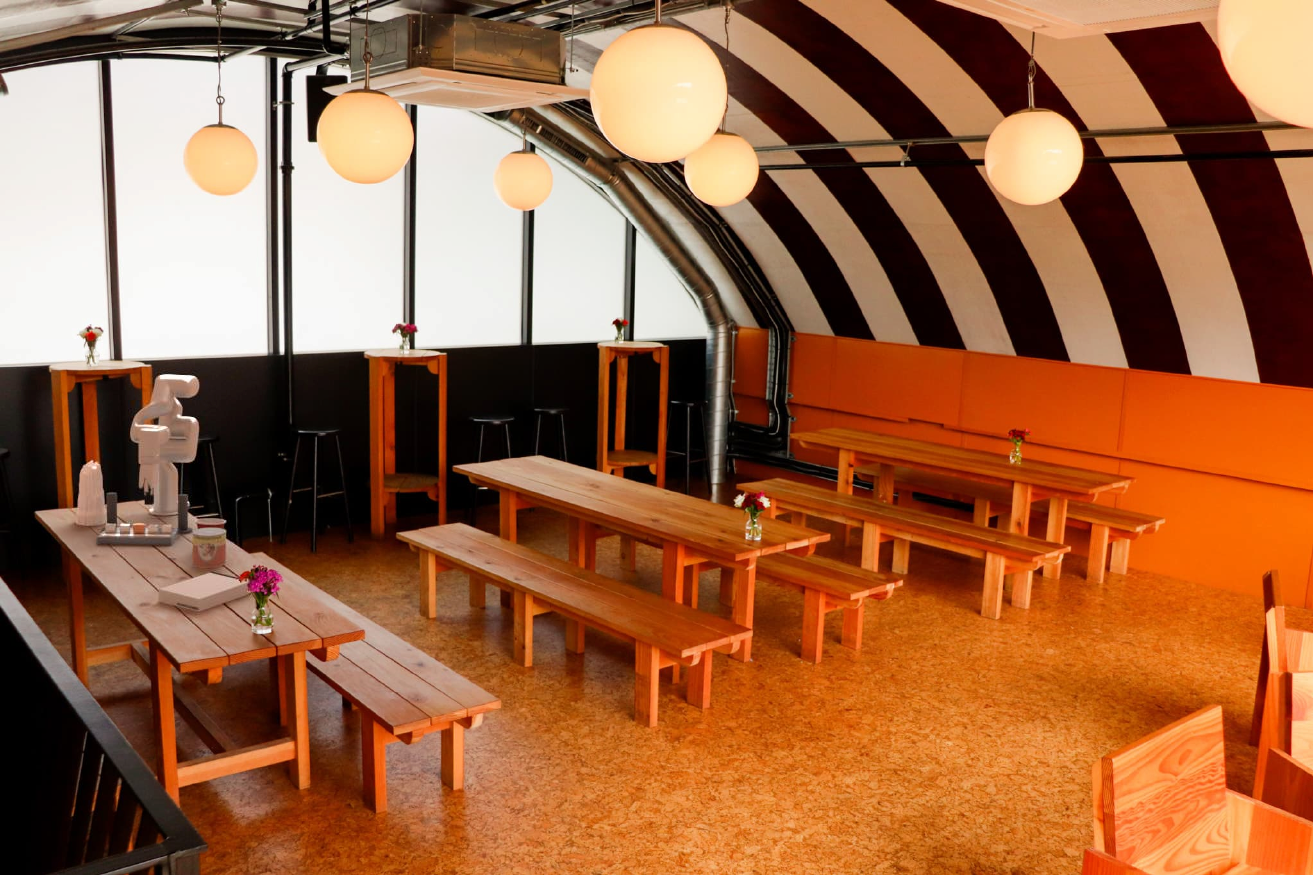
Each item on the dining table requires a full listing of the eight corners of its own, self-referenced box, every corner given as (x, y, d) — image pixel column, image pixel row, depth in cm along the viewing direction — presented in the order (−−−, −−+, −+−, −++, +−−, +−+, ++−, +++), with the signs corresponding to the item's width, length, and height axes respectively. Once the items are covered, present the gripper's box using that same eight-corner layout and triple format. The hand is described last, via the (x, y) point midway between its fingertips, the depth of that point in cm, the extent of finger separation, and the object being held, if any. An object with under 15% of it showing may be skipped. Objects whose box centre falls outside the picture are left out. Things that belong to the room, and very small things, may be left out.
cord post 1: (118, 527, 416) (117, 490, 413) (124, 531, 411) (124, 494, 409) (99, 529, 411) (98, 492, 408) (105, 533, 406) (105, 496, 403)
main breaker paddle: (134, 530, 401) (134, 523, 401) (145, 531, 402) (145, 523, 402) (132, 532, 399) (132, 524, 399) (144, 532, 400) (144, 524, 400)
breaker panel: (107, 534, 405) (107, 519, 404) (179, 535, 411) (179, 520, 410) (97, 544, 392) (96, 529, 391) (171, 545, 398) (171, 530, 397)
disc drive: (251, 594, 352) (251, 580, 351) (199, 613, 331) (199, 598, 331) (211, 585, 358) (211, 571, 358) (158, 602, 338) (158, 588, 337)
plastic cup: (231, 548, 400) (231, 517, 398) (216, 555, 390) (217, 524, 388) (204, 545, 401) (204, 515, 399) (189, 552, 390) (189, 521, 389)
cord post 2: (188, 528, 422) (188, 492, 419) (195, 532, 417) (195, 496, 414) (170, 530, 417) (170, 494, 414) (177, 534, 412) (177, 498, 409)
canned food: (190, 567, 373) (190, 535, 371) (195, 558, 384) (195, 527, 382) (223, 567, 376) (224, 535, 374) (227, 558, 387) (228, 527, 385)
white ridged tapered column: (96, 526, 414) (96, 465, 410) (70, 524, 414) (69, 463, 410) (111, 520, 425) (111, 460, 421) (85, 518, 425) (84, 458, 421)
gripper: (143, 455, 418) (143, 499, 421) (134, 462, 404) (134, 508, 406) (164, 456, 420) (163, 500, 422) (154, 463, 405) (154, 508, 408)
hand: (149, 504), depth 414 cm, fingers closed
